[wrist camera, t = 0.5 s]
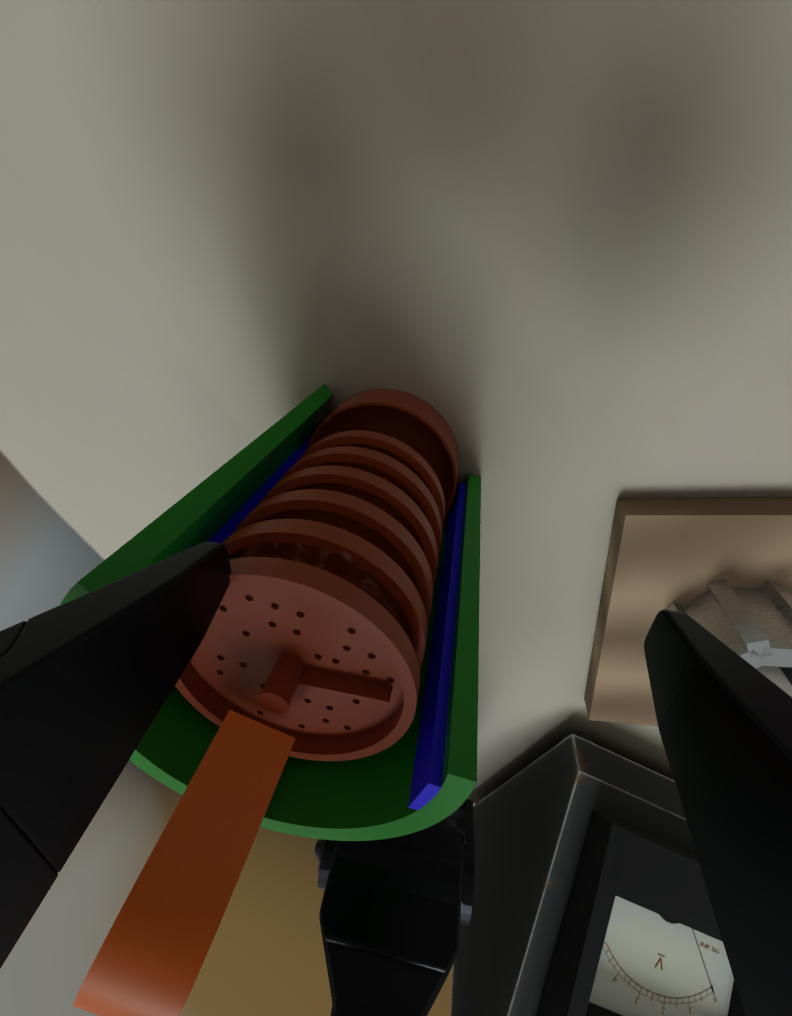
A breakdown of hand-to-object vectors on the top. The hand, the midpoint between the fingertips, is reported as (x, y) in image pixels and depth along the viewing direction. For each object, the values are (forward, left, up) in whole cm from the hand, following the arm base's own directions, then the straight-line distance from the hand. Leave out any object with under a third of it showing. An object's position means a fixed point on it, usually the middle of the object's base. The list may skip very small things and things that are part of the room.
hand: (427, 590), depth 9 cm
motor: (-4, +4, -14) cm, 15 cm away
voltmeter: (-35, -10, -14) cm, 39 cm away
